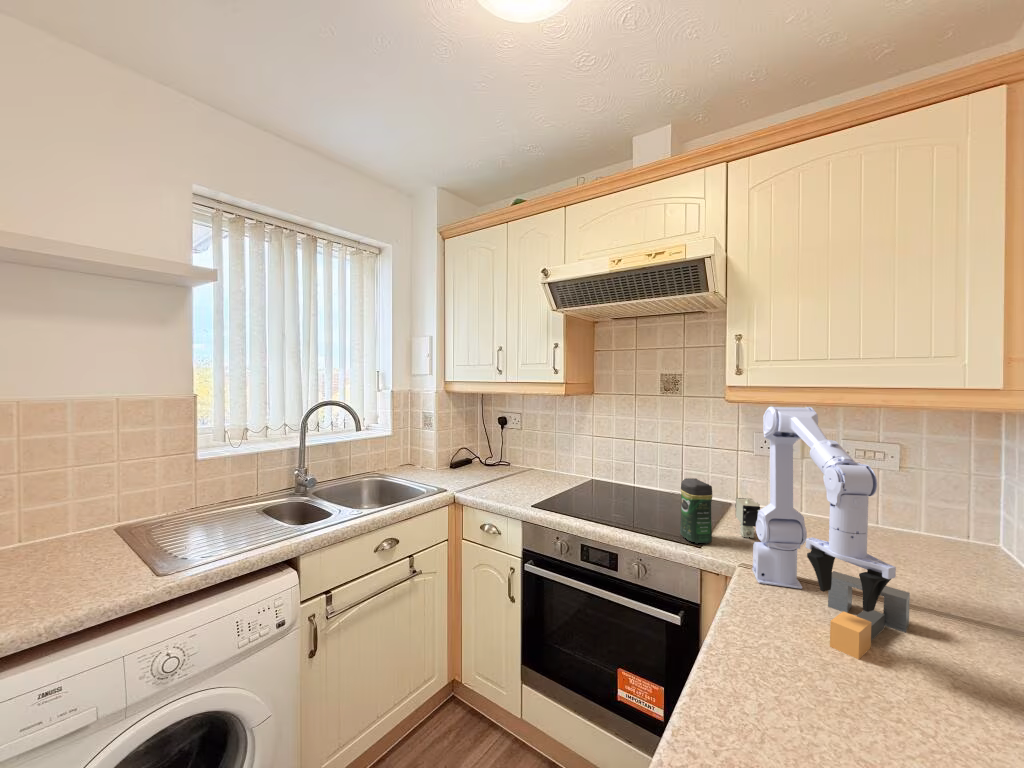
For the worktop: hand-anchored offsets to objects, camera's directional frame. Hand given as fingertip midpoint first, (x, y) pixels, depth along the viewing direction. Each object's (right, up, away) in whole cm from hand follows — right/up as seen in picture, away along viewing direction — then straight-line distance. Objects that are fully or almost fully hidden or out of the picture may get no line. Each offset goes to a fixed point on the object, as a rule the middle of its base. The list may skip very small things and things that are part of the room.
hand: (846, 599), depth 83 cm
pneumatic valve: (+12, -8, +56) cm, 58 cm away
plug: (+5, -9, +3) cm, 11 cm away
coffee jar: (-6, -8, +54) cm, 55 cm away
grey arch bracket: (+13, -9, +11) cm, 20 cm away
